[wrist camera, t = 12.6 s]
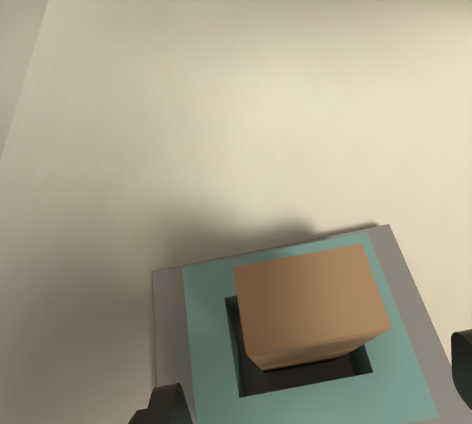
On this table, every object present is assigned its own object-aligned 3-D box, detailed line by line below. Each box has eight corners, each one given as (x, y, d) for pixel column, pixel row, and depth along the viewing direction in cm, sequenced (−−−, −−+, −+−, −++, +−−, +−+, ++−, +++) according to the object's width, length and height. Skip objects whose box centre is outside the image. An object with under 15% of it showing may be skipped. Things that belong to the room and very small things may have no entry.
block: (322, 315, 20) (361, 243, 10) (334, 360, 19) (392, 327, 9) (256, 327, 20) (232, 267, 10) (264, 373, 19) (245, 353, 9)
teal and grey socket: (384, 230, 23) (409, 192, 19) (473, 439, 17) (539, 455, 13) (156, 276, 23) (127, 249, 19) (167, 495, 18) (130, 529, 13)
